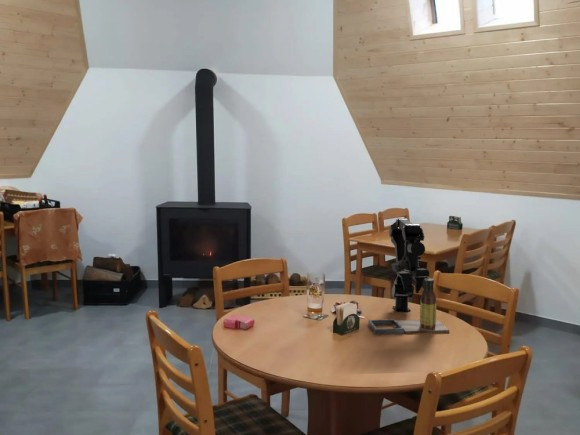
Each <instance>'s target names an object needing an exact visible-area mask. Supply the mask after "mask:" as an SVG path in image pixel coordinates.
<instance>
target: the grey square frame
mask: <svg viewBox="0 0 580 435" xmlns="http://www.w3.org/2000/svg"><path fill="white" fill-rule="evenodd" d="M396 320H397V319H391V318H390V319H368V326H369V328H370V329H371V330H372V332H373V331H374V332H373V334H374V335H398V334H399V335H403V334H404V329H403V328H402V326H401V325H400V324H399V323H398V322H397V321H396ZM392 325H393V326H394V327H395V328H391V327H390V328H377V326H392Z"/></svg>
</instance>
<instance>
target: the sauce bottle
mask: <svg viewBox="0 0 580 435" xmlns="http://www.w3.org/2000/svg"><path fill="white" fill-rule="evenodd" d="M434 283H435V279H434V278H431V277H428V278H425V279H424V283H423V291H422V293H421V296H420V306H419V307H420V308H419V310H420V311H419V320H420V325H421V327H423V328H426V329H433V328H435V326H436V319H437V295H436V293H435V291H434Z"/></svg>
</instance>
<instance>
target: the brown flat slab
mask: <svg viewBox="0 0 580 435" xmlns="http://www.w3.org/2000/svg"><path fill="white" fill-rule="evenodd" d="M395 320H396V321H397V322H398V323H399V324H400V325H401V326H402V328H403V329H404V332H403V334H406V335H407V334H441V333H443V334H444V333H445V334H446V333H448V334H449V333H450V329H449V328H447V327H446V325H444V324H443V323H442V322H441V321H440V320H438V319H437V318H436V326H435V328H433V329H426V328H423V327H421V325H420V319H395Z"/></svg>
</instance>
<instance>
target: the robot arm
mask: <svg viewBox="0 0 580 435" xmlns="http://www.w3.org/2000/svg"><path fill="white" fill-rule="evenodd" d="M388 235H389V237H390V242H391V243H392V245H393V246H394V253H395V262H393V263H391V268H392V271H393V272H394V273H396V275H397V276H396V278H395V280H394V282H393V286H392V289H391V296H392V297H393V298H395V300H394V301H395V303H394V305H392V308H393V309H394V310H395V311H396V312H412V310H411V309H410V308H409V298H411V299H412V298H413V296H414V291H415V293H416V294H419V293H420V290H421V288H422V287H423V286H424V279H425V278H429V277H430V275H431V274H430V273H431V272H430V270H429V269H428V268H427V269H426V268H421V266H419V263H420V262H419V261H420V260H421V259H422V258H421V256H423V255H424V253H425V251H426V247H425V245H424V244H425V243H423V241H424V240H425V234H424V229H423V227H422V226H421V224H419V223H412V222H410V221H409V219H408V218H396V220H395V222H393V223H392V224H391V225H390V227H389V230H388ZM412 279H413V280H414V284H413V282H412Z"/></svg>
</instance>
